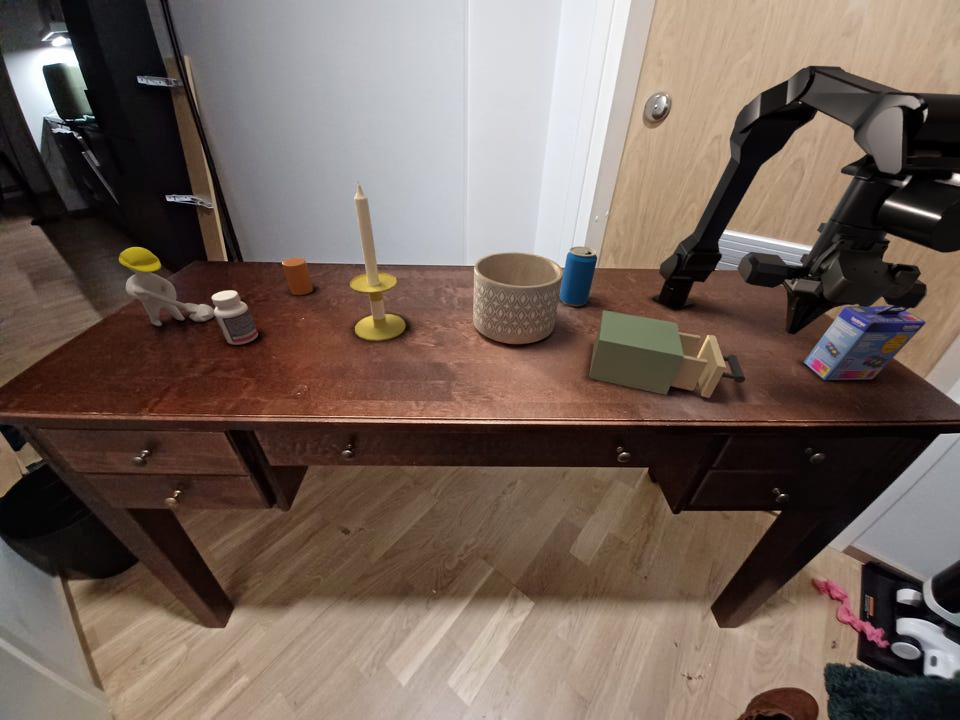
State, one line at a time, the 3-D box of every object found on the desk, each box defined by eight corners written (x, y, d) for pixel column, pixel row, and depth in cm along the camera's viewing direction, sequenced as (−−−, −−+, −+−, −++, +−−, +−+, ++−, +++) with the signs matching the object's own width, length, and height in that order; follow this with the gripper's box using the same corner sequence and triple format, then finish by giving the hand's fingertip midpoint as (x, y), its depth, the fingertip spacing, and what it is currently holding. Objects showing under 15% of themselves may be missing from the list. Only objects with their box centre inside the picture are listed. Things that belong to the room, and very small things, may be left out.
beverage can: (587, 309, 82) (599, 257, 75) (558, 306, 83) (567, 254, 76) (586, 296, 87) (597, 247, 80) (559, 293, 88) (568, 244, 81)
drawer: (725, 370, 64) (741, 340, 60) (737, 404, 57) (756, 373, 53) (634, 351, 68) (643, 323, 64) (634, 381, 61) (645, 351, 57)
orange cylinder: (311, 284, 88) (303, 256, 84) (314, 292, 85) (307, 263, 81) (289, 288, 86) (280, 259, 82) (292, 296, 83) (283, 267, 79)
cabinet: (662, 359, 67) (677, 322, 63) (666, 395, 59) (683, 356, 55) (593, 346, 70) (603, 309, 66) (588, 378, 62) (599, 339, 58)
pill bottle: (265, 333, 70) (249, 291, 65) (242, 348, 66) (223, 304, 61) (243, 328, 72) (226, 286, 66) (220, 342, 68) (199, 298, 62)
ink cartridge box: (825, 382, 63) (883, 308, 55) (800, 363, 68) (850, 292, 59) (876, 380, 64) (941, 307, 56) (848, 361, 69) (904, 291, 60)
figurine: (180, 337, 68) (138, 260, 59) (140, 330, 70) (93, 254, 61) (222, 312, 76) (190, 240, 67) (185, 306, 78) (149, 235, 69)
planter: (487, 302, 83) (490, 247, 76) (559, 316, 79) (569, 259, 72) (460, 338, 71) (460, 277, 63) (543, 357, 67) (554, 294, 59)
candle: (413, 333, 72) (399, 184, 56) (362, 346, 68) (331, 189, 52) (396, 311, 79) (379, 173, 63) (349, 321, 75) (318, 176, 59)
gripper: (792, 232, 40) (730, 349, 49) (1014, 256, 35) (899, 380, 45) (764, 208, 48) (715, 311, 58) (939, 225, 44) (856, 334, 53)
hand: (789, 332), depth 53 cm, fingers closed
